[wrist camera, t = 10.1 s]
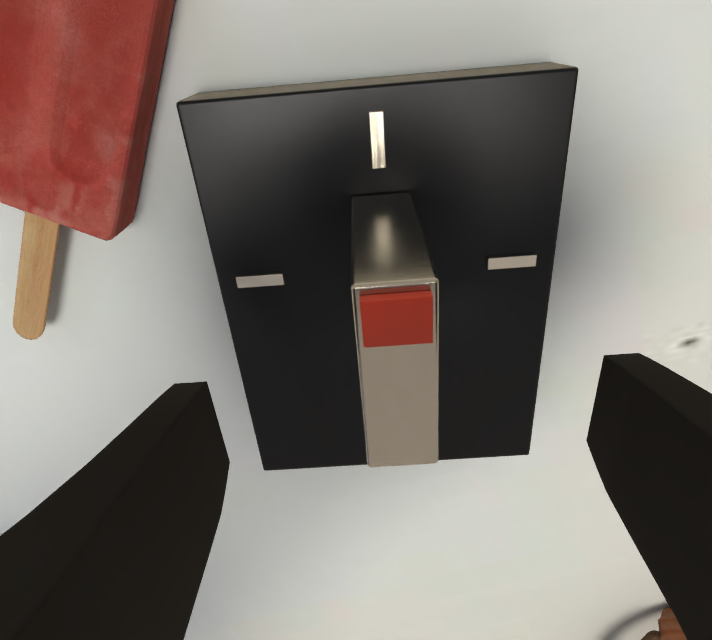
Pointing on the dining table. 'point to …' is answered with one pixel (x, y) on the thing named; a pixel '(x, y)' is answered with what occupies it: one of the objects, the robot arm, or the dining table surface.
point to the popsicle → (74, 125)
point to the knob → (395, 330)
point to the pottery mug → (666, 628)
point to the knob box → (333, 242)
